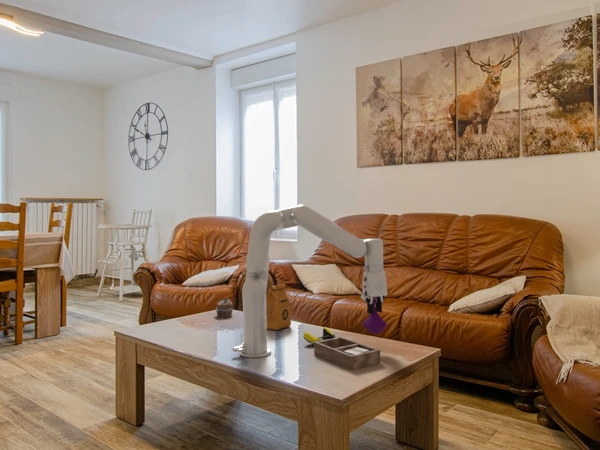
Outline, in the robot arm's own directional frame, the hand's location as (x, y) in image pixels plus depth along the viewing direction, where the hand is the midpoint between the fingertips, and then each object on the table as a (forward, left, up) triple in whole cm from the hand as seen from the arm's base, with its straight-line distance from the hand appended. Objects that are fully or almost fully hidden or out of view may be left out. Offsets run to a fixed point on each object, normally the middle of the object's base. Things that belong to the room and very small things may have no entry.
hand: (374, 312), depth 196 cm
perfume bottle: (0, 0, -8) cm, 8 cm away
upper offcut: (-16, -7, -14) cm, 22 cm away
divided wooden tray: (-16, -1, -16) cm, 23 cm away
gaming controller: (-11, +23, -17) cm, 30 cm away
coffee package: (-12, +58, -16) cm, 62 cm away
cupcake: (-22, +101, -16) cm, 105 cm away
